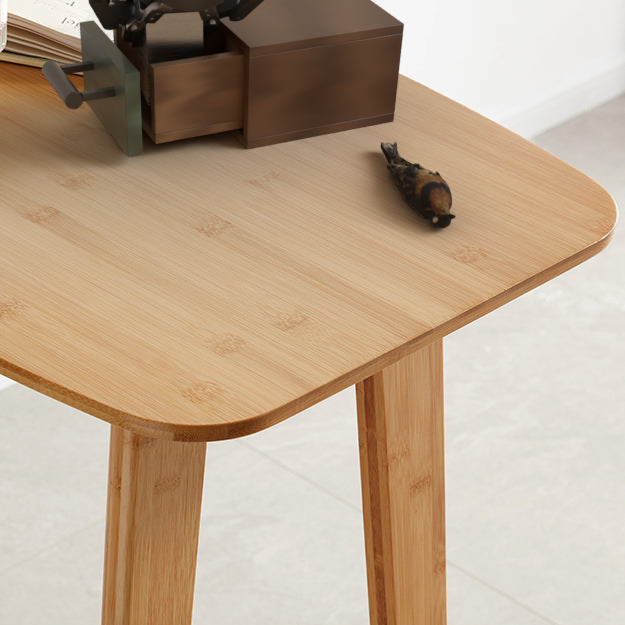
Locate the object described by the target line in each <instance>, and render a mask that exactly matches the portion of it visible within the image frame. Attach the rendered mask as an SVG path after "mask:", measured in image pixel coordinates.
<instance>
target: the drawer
mask: <svg viewBox="0 0 625 625" xmlns="http://www.w3.org/2000/svg"><path fill="white" fill-rule="evenodd" d="M79 36H80V51H81V61H79V62H71V63H67V64H66V63H65V64H60V65H59V63H58V62H56V61H54V60H48V61H45V63H43V65H42V67H41V73H42V75H43V76H44V78H45V79H46V80H47V82H48V83H49V85H50V86H51V88H53V90H54V91H55V93H56V94H57V95H58V97H59V98H60V99H61V101H62V102H63V104H64V105H65V106H66V107H67V108H68V109H69V110H77V109H78V108H80V107H81V106H82V105H83V103H84V102H85V104H87V106H89V108H90V109H91V111H92V113H94V115H95V116H96V118H98V120H99V121H100V122H101V123H102V125H103V126H104V128H105V129H106V130H107V131H108V133H109V134H110V135H111V136H112V138H113V139H114V141H115V142H116V144H118V146H119V147H120V148H121V151H123V152H124V154H125V155H126V156H127V157H128V158H132V157H136V156H142V155H143V154H144V152H143V150H144V149H143V130H144V132H145V133H146V134H147V135H148V137H150V139H151V140H152V141H153V142H154V144H156V145H157V144H163V143H168V142H174V141H180V140H184V139H190V138H194V137H195V138H196V137H201V136H207V135H211V134H218V133H222V132H228V131H230V130H234V129H240V128H244V89H245V54H246V53H245V52H244V51H242V50H241V49H240V48H239V47H238V46H237V45H236V44H235V43H234V42H233V41H232V40H231V39H229V38H228V37H227V36H226V35H225V34H224V33H223V32H222V31H221V30H220V29H219V28H218V27H217V26H215V28H214V31H213V33H212V34H211V35H210V36H207V37H205V39H204V41H203V56H201V57H195V58H188V59H182V60H175V61H169V62H162V63H156V64H150V84H151V105H148V103H147V101H146V98H145V96H144V94H143V92H142V89H141V87H140V72H139V71H138V62H137V47H136V48H131V47H130V42H124V41H123V40H122V35H121V29H120V27H119V28H117V29H115V30H112V36H113V40H112V39H111V38H110V37H109V36H108V35H107V34H106V33H105V31H104V29H103V28H101V27H100V26H99V25H98V23H96V21H95V20H86V21H80V22H79ZM77 73H82V79H83V90H82V91H79V89H78V88H77V87H76V86H75V84H74V82H72V80H71V79H70V78H69V76H68V75H71V74H77Z"/></svg>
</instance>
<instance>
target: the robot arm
mask: <svg viewBox="0 0 625 625" xmlns="http://www.w3.org/2000/svg"><path fill="white" fill-rule="evenodd" d="M263 1H264V0H87V2H88V4H89V6H90V8H91V10H92V11H93V13H94V15H95V17H96V18H97V20H98V21H99V23H100V25H101V27H102V29H103V30H105V31H113V30H115V29H117V28H119V27H120V29H121V35H122V40H123V41H124V42H130V47H131V48H136V47H140V44H141V40H142V37H143V33H144V26H145V25H146V24H147V23H150V24H155V23H156V22H157V21H158V20H159V19H160V18H161V17H162V16H163V15H164V14H165V13H166V12H167V11H172V10H173V9H178V10H183V11H198V12H199V14H200V17H201V19H202V20H203V41H204V39H205V37H207V36H210V35H211V34H212V33H213V31H214V28H215V26H216V25H219V24H220V19H222V18H225V17H229V20H230V21H240V20H243V19H244V18H245V17H246V16H248V15H249V14H250V13H251V12H252V11H253V10H254V9H255V8H256V7H257V6H259V5H260V4H261V3H262V2H263Z"/></svg>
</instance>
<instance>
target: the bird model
mask: <svg viewBox="0 0 625 625" xmlns="http://www.w3.org/2000/svg"><path fill="white" fill-rule="evenodd" d="M379 147H380V150H381V152H382V154H383V156H384V157H385V160H386V161H387V163H388V164H386V165H385V166H386V168H387V170H388V172H389V173H390V174H391V176H392V177H393V178H394V180H395V182H396V185H397V187H398V189H399V191H400V193H401V194H402V196H403V199H404V201H405V203H407V205H409V206H410V208H412V209H413V210H414V211H416V212H417V214H418V215H419V216H421V217H422V218H424V219H428V221H429V224H430V225H431V226H432V228H435V229H445V228H448V227H449V226H451V224H452V220H455V219H456V215H455V214H452V213H451V211H450V210H451V208H452V206H453V195H452V191H451V189H450V186H449V184H448V182H447V181H446V179H445V178H443V177H442V175H441V174H440V172H439V171H436V170H435V172H433V171H431V170H430V169H427V168H424V167H423V166H422V165H421V164H420V163H417V162H415V163H412V162H411V161H408V160H406V159H405V158H404V157H402V155H401V154H400V153H399V151H398V142H397V141H394V142H393V143H390V142H386V143H385V142H383V141H380V146H379Z"/></svg>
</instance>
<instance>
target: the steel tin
mask: <svg viewBox="0 0 625 625" xmlns="http://www.w3.org/2000/svg"><path fill="white" fill-rule="evenodd" d="M201 56H203V20H202V19H201V17H200V14H199V12H198V11H183V10H178V9H173V10H172V11H167V12H166V13H165V14H164V15H163V16H162V17H161V18H160V19H159V20H158V21H157V22H156V23H155V24H150V23H147V24H146V25H145V26H144V33H143V37H142V40H141V44H140V47H137V62H138V71H139V72H140V87H141V89H142V92H143V94H144V96H145V98H146V101H147V103H148V105H151V84H150V64H156V63H162V62H169V61H175V60H182V59H188V58H195V57H201Z"/></svg>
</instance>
